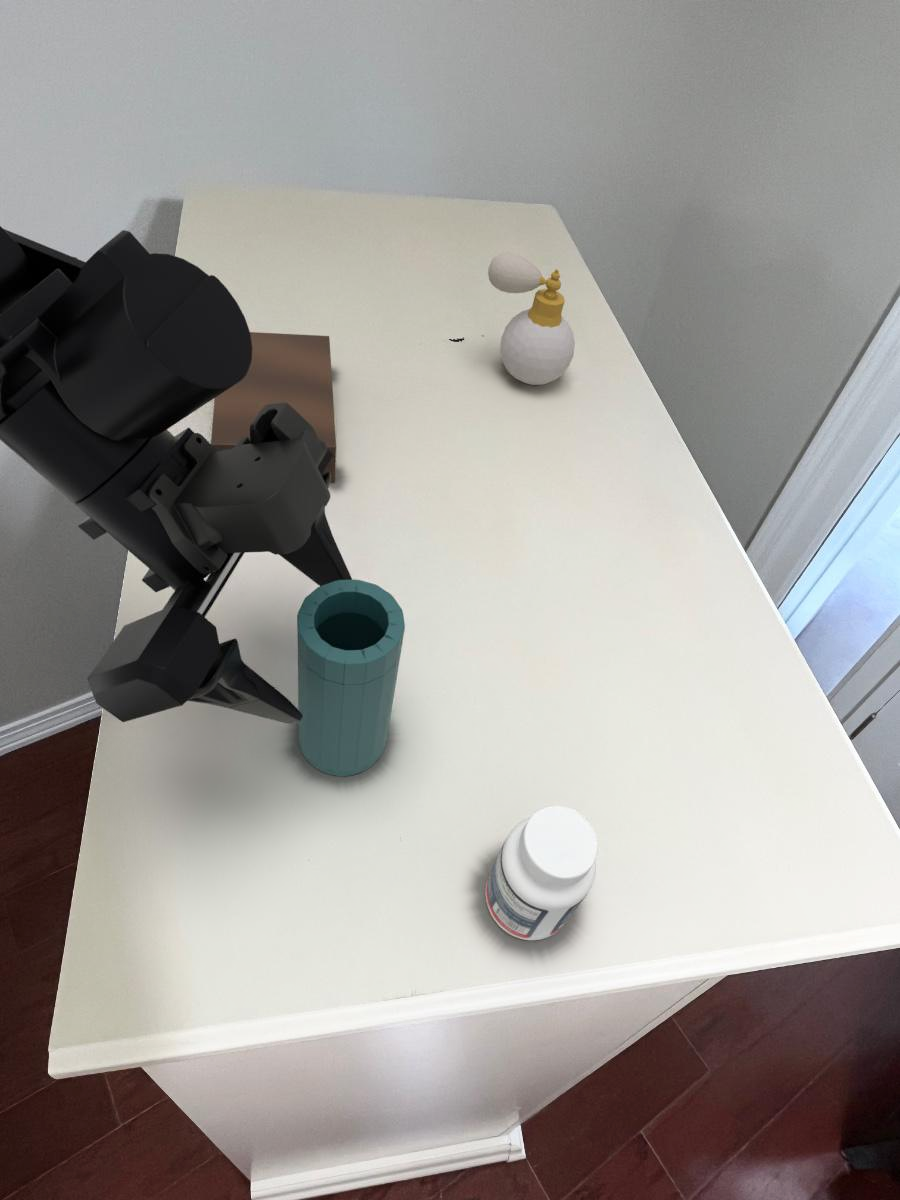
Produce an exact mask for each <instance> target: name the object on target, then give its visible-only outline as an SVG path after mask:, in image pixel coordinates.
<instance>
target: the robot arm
mask: <svg viewBox="0 0 900 1200" xmlns="http://www.w3.org/2000/svg"><path fill="white" fill-rule="evenodd" d="M250 332H251V331H250V328H249V326H248V322H247V319H246V317H245V315H244V313H243V311H242V309H241V307H240V305H239V303H238V302H237V300H236V299H235V297H234V296H233V295H232V294H231V292H230V291H229V289H228V288H227V287H226V285H224V284H223V282H221V280H220V279H219V278H218V277H216V276H215V275H213V274H211V275H209V274H208V273H207V272H205V271H204V270H202V269H201V268H200V267H199V266H197V265H196V264H193V263H192V262H190V261H188V260H186V259H185V258H183V257H179V256H175V255H172V254H169V253H157V252H154V253H153V252H152V253H150V252H149V251H148V250H147V249H146V248H145V247H144V245H142V243H141V242H140V241H139V240H138V239H137V238H136V237H135V235H134V234H133V233H132V232H131V231H129V230H126V229H123V230H120V231H119V232H118V233H117V234H116V235H115V236H114V237H112V238H111V239H110V240H109V241H107V242H106V243H105V244H104V245H103V246H101V247H100V248H99V249H98V250H97V251H95V253H94V254H92V256H91V257H89V258H88V259H87V260H86V261H84V260H81V259H78V257H76V256H73V255H69V254H66V253H64V252H61V251H59V250H58V249H54V248H52V247H49V246H46V245H44V244H42V243H40V242H37V241H34V240H32V239H30V238H28V237H26V236H23V235H20V234H17V233H15V232H13V231H10V230H7V229H6V228H4V227H2V226H1V225H0V442H2V443H3V444H4V445H5V446H6V447H7V448H9V449H10V450H11V451H12V452H13V453H15V454H16V456H18V457H19V458H20V459H22V460H23V461H24V462H25V463H26V464H27V465H29V466H30V467H31V468H32V469H33V470H34V471H35V472H36V473H38V475H40V476H42V477H43V479H45V480H46V481H47V482H48V483H49V484H50V485H51V486H53V487H54V488H55V489H56V490H57V491H58V492H60V493H61V494H62V495H63V496H64V497H65V498H67V500H69V501H70V502H71V503H73V504H74V505H75V506H76V507H77V508H78V509H79V510H80V511H81V512H83V513H84V514H85V516H84V518H83V519H81V521H80V523H79V524H78V525H77V527H78V528H79V529H80V530H81V531H82V532H84V533H85V534H86V535H87V536H88V537H89V538H90V539H92V540H97V539H98V538H100V537H101V536H103V535H105V534H108V535H110V536H111V537H112V538H113V539H114V540H116V541H117V542H118V543H119V544H120V545H121V546H122V547H123V548H125V549H126V550H127V551H128V552H129V553H130V554H132V555H133V556H134V557H135V558H136V559H138V560H139V562H141V563H142V564H143V565H144V566H146V567H147V568H148V570H147V572H146V573H145V574H144V576H143V577H142V578H141V581H142V582H143V583H144V584H145V585H146V586H147V587H149V588H150V589H151V591H153V592H154V593H159V592H161V591H163V590H165V589H167V588H171V589H172V590H173V591H174V592H173V593H172V594H171V596H170V597H169V599H168V601H167V602H166V603H165V605H164V606H163V608H162V609H161V610H158V611H156V612H154V613H151V614H148V615H146V616H144V617H142V618H139V619H137V620H135V621H132V622H130V623H127V624H125V625H124V626H123V627H122V628H121V630H120V631H119V633H118V634H117V636H116V637H115V638H114V639H113V641H112V642H111V644H110V645H109V647H108V648H107V650H106V651H105V653H104V654H103V656H102V657H101V658H100V659H99V661H98V662H97V664H96V665H95V667H94V668H93V670H92V671H91V673H90V674H89V675H88V677H87V678H86V679H87V681H88V685H89V687H90V691H91V693H92V696H93V698H94V701H95V703H96V704H97V705H98V706H99V707H101V708H102V709H104V710H105V711H106V712H108V713H109V714H111V716H113V717H114V718H115V719H117V720H119V721H120V722H121V723H126V722H129V721H134V720H137V719H139V718H140V719H141V718H143V717H147V716H150V715H154V714H157V713H160V712H164V711H167V710H172V709H174V708H178V707H182V706H184V705H185V703H187V702H192V703H197V704H198V703H199V704H205V705H206V704H208V705H211V706H217V707H221V708H225V709H229V710H233V711H237V712H241V713H244V714H249V715H252V716H256V717H260V718H265V719H268V720H271V721H275V722H279V723H283V724H288V725H290V724H296V723H299V722H300V721H301V719H302V717H303V715H302V713H301V712H300V711H299V710H298V707H296V705H294V703H293V702H292V701H290V699H289V698H288V697H286V696H285V695H284V694H283V693H281V692H280V691H279V690H278V689H277V688H275V687H274V686H273V685H272V684H271V683H269V682H268V681H267V680H266V679H264V678H263V677H262V676H261V675H259V674H258V673H257V672H256V671H255V670H254V669H252V668H251V667H249V666H248V665H247V664H246V663H245V662H244V661H243V659H242V655H241V649H240V646H239V645H240V644H239V641H238V639H237V638H232V639H229V640H226V641H223V642H221V643H220V640H219V635H218V630H217V626H215V625H214V624H213V623H212V622H211V620H208V618H206V616H207V614H208V613H209V612H210V610H211V608H212V606H213V605H214V603H215V601H216V600H217V598H218V597H219V595H220V593H221V592H222V590H223V589H224V587H225V585H226V583H227V582H228V580H229V579H230V577H231V575H233V572H234V571H235V569H236V567H237V566H238V565H239V562H240V561H241V560H242V558H243V556H244V554H246V553H271V554H273V555H275V556H280V557H281V558H282V559H284V560H285V561H287V562H288V563H289V564H290V565H292V566H293V567H294V568H296V569H297V570H298V571H299V572H301V573H302V574H303V575H304V576H306V577H308V579H310V580H311V581H313V583H315V584H316V585H317V586H318V587H320V586H322V585H325V584H328V583H331V582H334V581H338V580H353V577H352V575H351V573H350V571H349V568H348V567H347V564H346V561H345V559H344V558H343V555H342V553H341V551H340V549H339V547H338V545H337V542H336V540H335V538H334V535H333V533H332V530H331V527H330V524H329V521H328V519H327V518H328V517H327V516H326V507H327V505H328V504H329V502H330V501H331V492H330V491H329V486H330V484H331V483H332V482H331V474H330V472H329V471H327V472H324V470H325V469H326V467H327V465H328V464H329V462H330V460H331V458H332V457H333V454H332V453H331V452H330V451H329V450H328V449H327V446H326V444H325V443H324V442H323V441H322V440H320V439H319V438H318V437H317V435H316V433H315V430H314V429H313V427H312V426H311V425H310V424H309V423H308V422H307V421H306V420H305V419H304V418H303V417H302V416H301V415H300V414H299V413H298V412H297V411H295V410H294V409H293V408H292V407H291V406H290V405H289V404H288V403H287V402H284V403H275V404H267V405H265V406H264V407H263V408H262V410H261V411H260V412H259V414H258V415H257V417H256V418H255V419H254V421H253V422H252V423H251V425H250V440H249V438H248V437H242V438H241V439H240V440H239V442H238V443H237V445H236V446H235V447H234V448H232V449H230V450H223V451H221V450H219V449H218V448H216V447H214V446H213V445H211V442H209V440H207V438H205V436H204V435H202V434H201V433H198V432H194V430H192V429H191V427H187V428H185V429H184V430H182V431H180V432H179V433H178V434H176V435H173V434H172V433H171V432H170V430H168V429H171V427H173V426H174V425H176V424H178V423H179V422H181V421H182V420H184V419H185V418H187V417H188V416H189V415H191V414H193V413H195V412H196V411H198V409H200V408H202V407H203V406H204V405H205V406H206V404H208V403H209V402H211V401H212V400H215V397H217V396H218V395H220V394H221V393H223V392H224V391H226V390H227V389H229V388H231V387H232V386H234V385H235V384H237V383H238V382H240V381H241V380H242V379H243V378H244V377H245V376H246V374H247V372H248V370H249V367H250V364H251V362H252V341H251V334H250ZM323 472H324V473H323ZM205 578H206V579H205Z"/></svg>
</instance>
